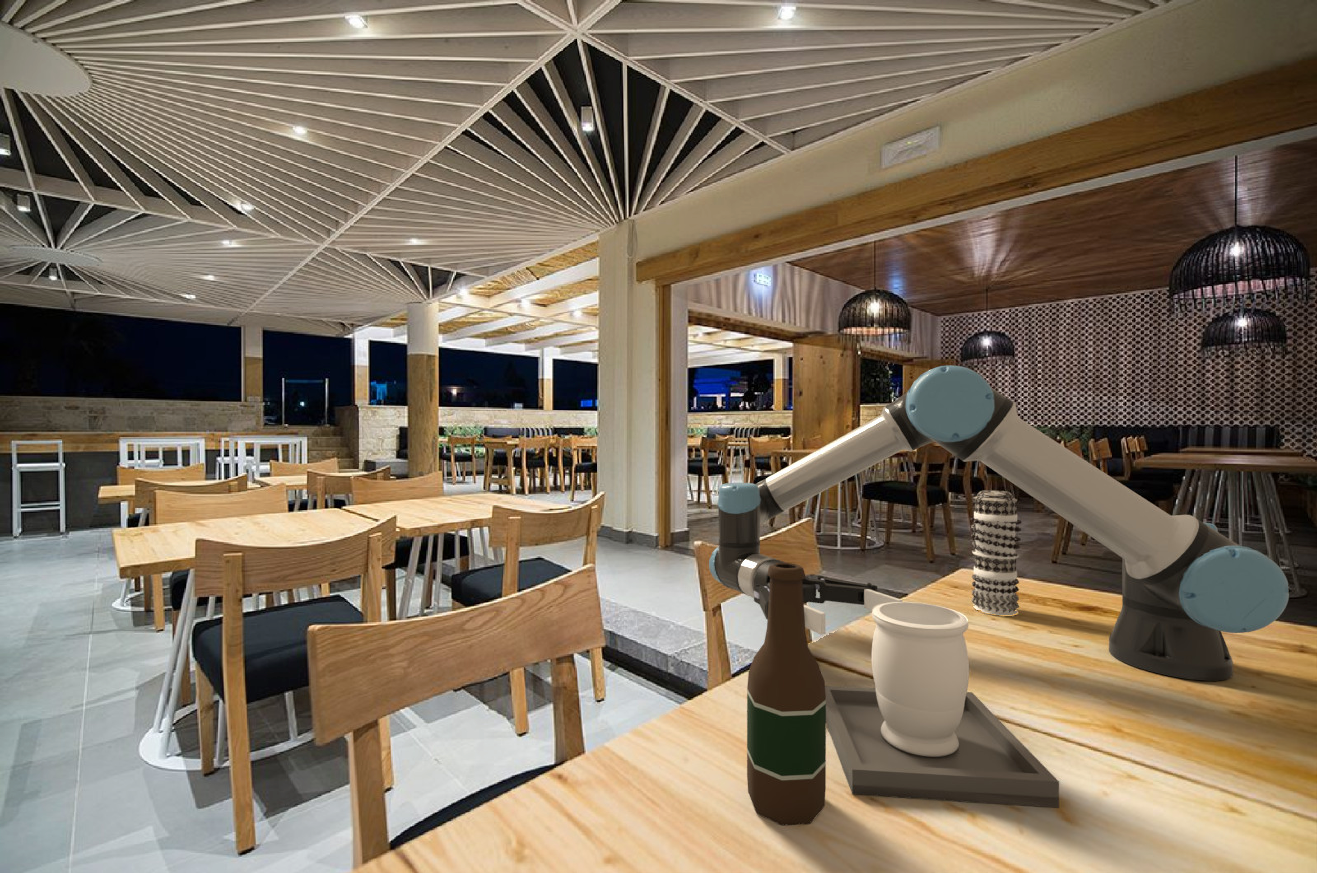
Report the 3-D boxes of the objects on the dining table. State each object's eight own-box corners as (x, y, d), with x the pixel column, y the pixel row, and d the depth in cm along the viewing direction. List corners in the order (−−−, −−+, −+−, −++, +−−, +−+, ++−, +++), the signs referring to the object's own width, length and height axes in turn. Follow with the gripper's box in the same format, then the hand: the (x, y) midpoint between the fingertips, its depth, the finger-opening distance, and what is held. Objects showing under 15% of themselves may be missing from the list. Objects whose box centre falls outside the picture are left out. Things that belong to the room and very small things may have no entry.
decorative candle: (1020, 620, 116) (1021, 494, 115) (967, 612, 121) (968, 492, 121) (1021, 608, 123) (1022, 491, 123) (972, 601, 128) (972, 488, 128)
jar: (920, 773, 62) (920, 633, 62) (852, 728, 71) (852, 606, 71) (990, 751, 66) (990, 620, 66) (917, 711, 76) (917, 596, 75)
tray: (971, 711, 78) (971, 692, 78) (1058, 807, 58) (1058, 781, 58) (819, 704, 80) (819, 685, 80) (852, 794, 60) (852, 769, 60)
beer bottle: (780, 839, 53) (780, 578, 53) (731, 792, 60) (732, 561, 60) (842, 813, 57) (843, 569, 57) (790, 772, 64) (790, 554, 64)
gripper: (829, 594, 103) (930, 630, 83) (705, 613, 92) (787, 660, 73) (829, 552, 103) (929, 578, 83) (705, 566, 92) (787, 600, 73)
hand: (863, 616), depth 78 cm, fingers open, 13 cm apart
